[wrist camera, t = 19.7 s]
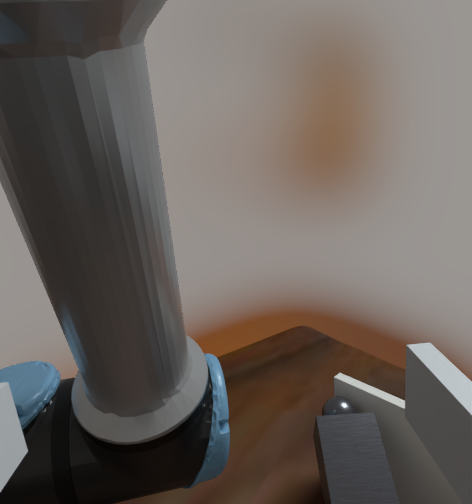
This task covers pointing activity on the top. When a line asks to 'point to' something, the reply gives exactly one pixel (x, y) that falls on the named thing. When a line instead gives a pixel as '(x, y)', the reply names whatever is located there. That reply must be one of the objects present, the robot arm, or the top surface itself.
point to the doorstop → (351, 456)
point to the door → (399, 445)
